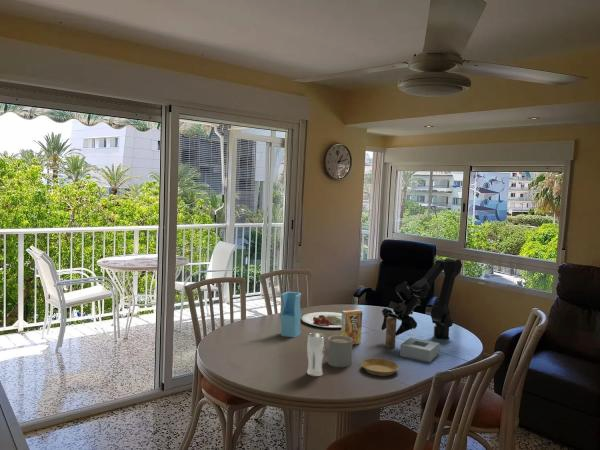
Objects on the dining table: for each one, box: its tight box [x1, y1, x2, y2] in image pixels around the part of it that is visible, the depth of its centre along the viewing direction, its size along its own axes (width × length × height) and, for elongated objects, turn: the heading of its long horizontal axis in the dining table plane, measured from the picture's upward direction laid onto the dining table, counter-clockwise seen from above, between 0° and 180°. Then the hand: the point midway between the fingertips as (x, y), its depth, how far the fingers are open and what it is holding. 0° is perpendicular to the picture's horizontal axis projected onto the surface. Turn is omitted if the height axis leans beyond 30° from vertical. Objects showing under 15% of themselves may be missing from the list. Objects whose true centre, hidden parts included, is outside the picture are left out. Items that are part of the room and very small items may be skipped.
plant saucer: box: [360, 358, 400, 377], centre depth 191 cm, size 15×15×3 cm
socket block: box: [399, 337, 440, 363], centre depth 211 cm, size 13×13×5 cm
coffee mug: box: [326, 334, 353, 368], centre depth 199 cm, size 13×10×10 cm
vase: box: [279, 291, 303, 338], centre depth 233 cm, size 8×8×20 cm
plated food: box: [301, 311, 342, 329], centre depth 259 cm, size 30×30×3 cm
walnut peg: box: [384, 317, 397, 349], centre depth 221 cm, size 4×4×13 cm
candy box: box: [340, 309, 363, 345], centre depth 223 cm, size 9×4×15 cm, turn 116°
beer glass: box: [306, 332, 326, 377], centre depth 185 cm, size 7×7×15 cm
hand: (388, 332), depth 220 cm, fingers open, 9 cm apart
